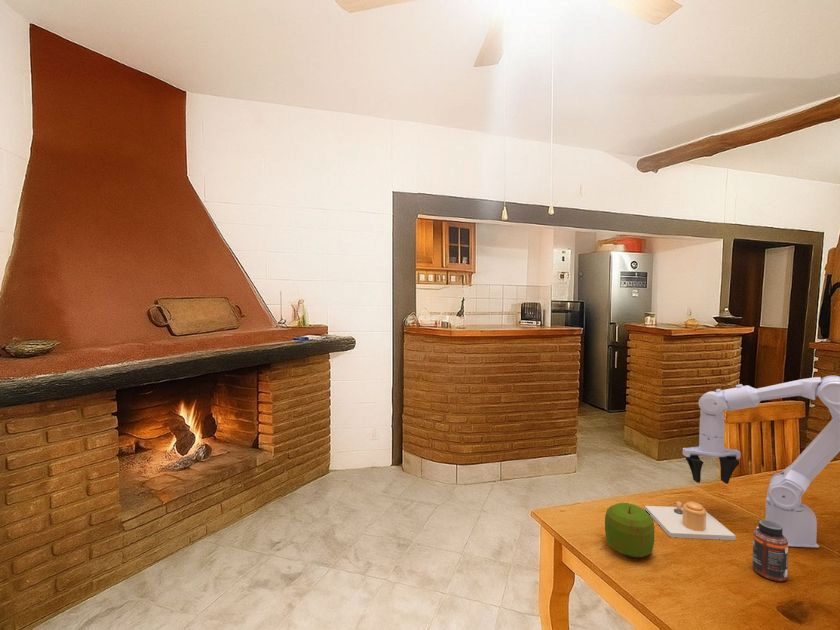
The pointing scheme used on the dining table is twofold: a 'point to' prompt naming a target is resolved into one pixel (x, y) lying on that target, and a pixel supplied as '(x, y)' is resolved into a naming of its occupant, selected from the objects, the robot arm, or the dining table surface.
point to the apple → (629, 530)
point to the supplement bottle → (770, 551)
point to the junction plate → (673, 526)
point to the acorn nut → (694, 516)
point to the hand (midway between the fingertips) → (710, 481)
